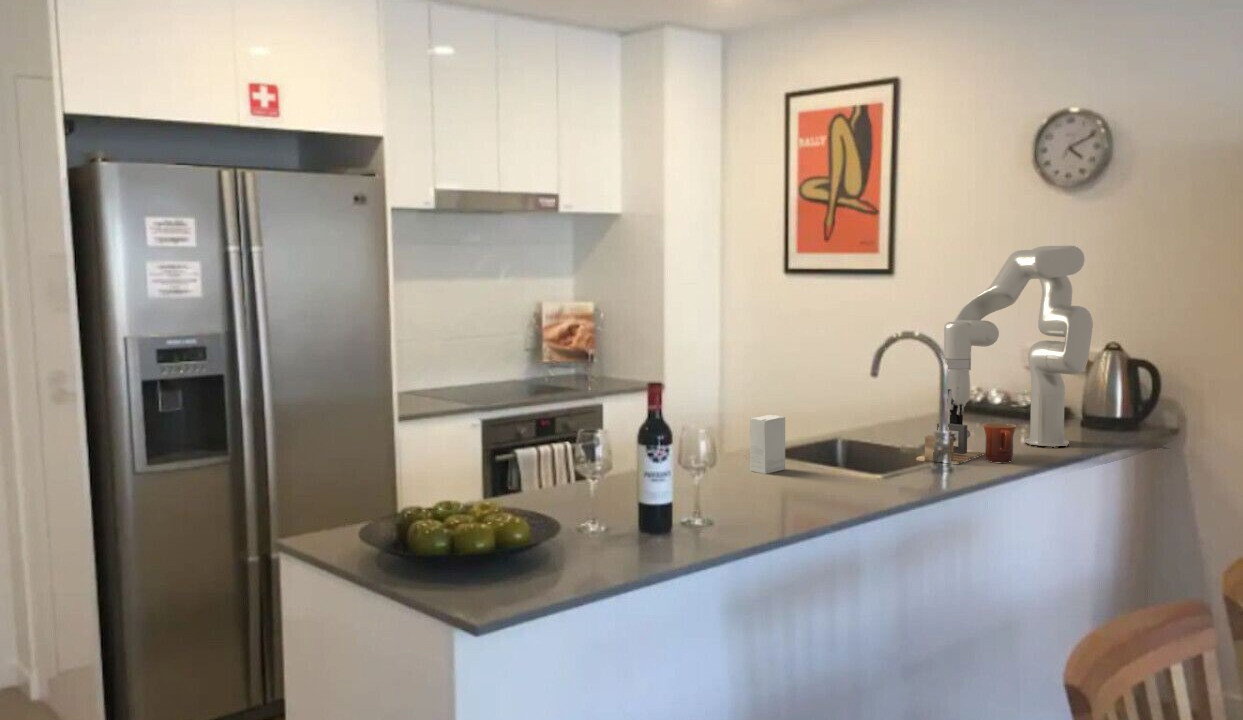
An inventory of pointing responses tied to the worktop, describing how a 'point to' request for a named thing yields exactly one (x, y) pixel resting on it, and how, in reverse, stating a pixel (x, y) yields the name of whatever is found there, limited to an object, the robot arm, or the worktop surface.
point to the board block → (954, 456)
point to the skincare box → (767, 444)
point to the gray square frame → (959, 437)
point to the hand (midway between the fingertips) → (955, 428)
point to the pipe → (955, 436)
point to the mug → (999, 441)
